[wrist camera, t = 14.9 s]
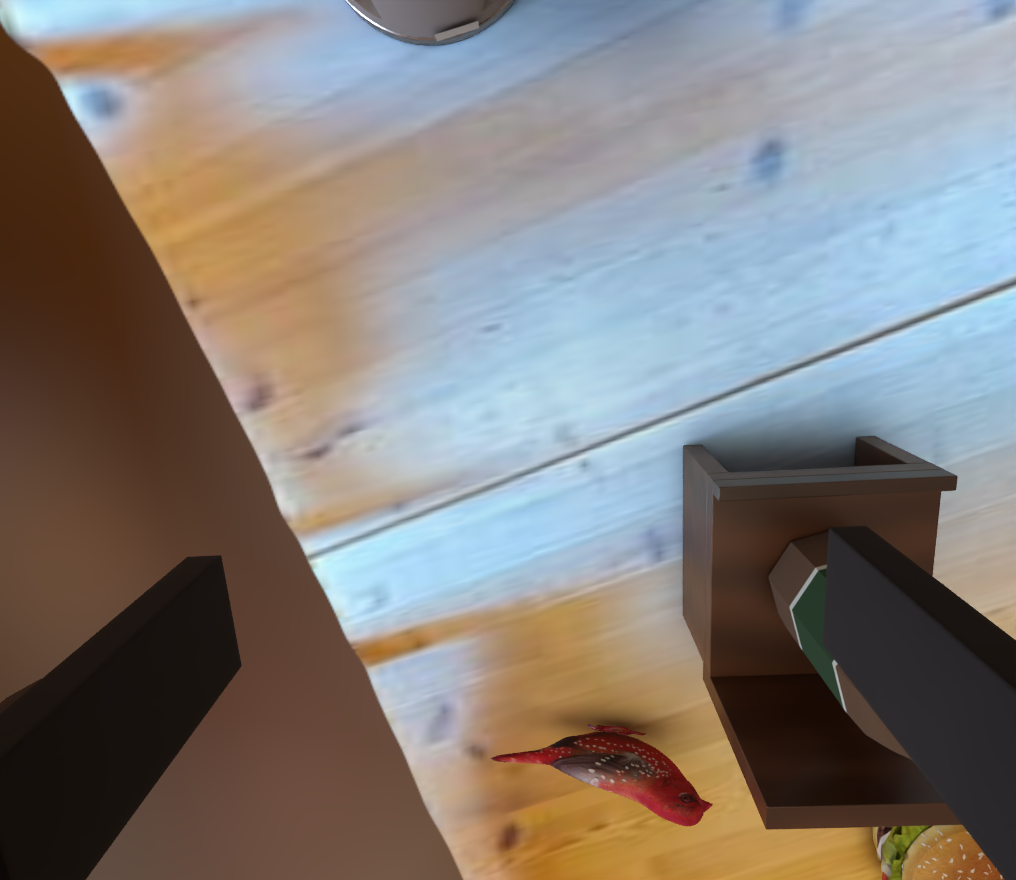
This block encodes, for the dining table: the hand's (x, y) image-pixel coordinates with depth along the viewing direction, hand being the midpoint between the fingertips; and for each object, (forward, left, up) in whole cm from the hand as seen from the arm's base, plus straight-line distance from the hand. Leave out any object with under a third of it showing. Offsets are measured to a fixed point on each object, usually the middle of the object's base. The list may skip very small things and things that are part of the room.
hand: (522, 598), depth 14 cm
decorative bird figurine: (+33, +4, -39) cm, 51 cm away
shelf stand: (+15, +19, -39) cm, 46 cm away
